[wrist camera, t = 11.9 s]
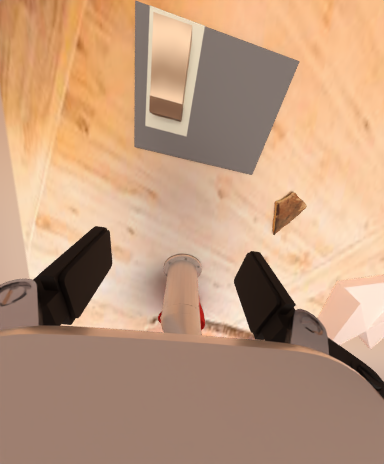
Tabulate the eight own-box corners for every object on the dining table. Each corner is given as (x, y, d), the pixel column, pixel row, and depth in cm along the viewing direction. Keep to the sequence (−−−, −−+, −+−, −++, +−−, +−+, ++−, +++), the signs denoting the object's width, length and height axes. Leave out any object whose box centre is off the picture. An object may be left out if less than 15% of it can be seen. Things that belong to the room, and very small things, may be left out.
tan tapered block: (158, 31, 22) (152, 11, 18) (192, 42, 22) (192, 24, 19) (154, 115, 27) (149, 111, 24) (181, 122, 28) (180, 119, 24)
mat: (251, 174, 34) (252, 175, 33) (135, 146, 30) (134, 146, 30) (297, 62, 24) (299, 61, 24) (136, 3, 21) (135, 0, 20)
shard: (271, 232, 43) (274, 235, 42) (254, 219, 41) (256, 222, 39) (304, 204, 39) (309, 207, 37) (287, 187, 36) (292, 189, 35)
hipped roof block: (335, 279, 56) (360, 303, 48) (399, 271, 54) (436, 294, 46) (308, 333, 80) (321, 354, 72) (351, 328, 78) (370, 349, 70)
